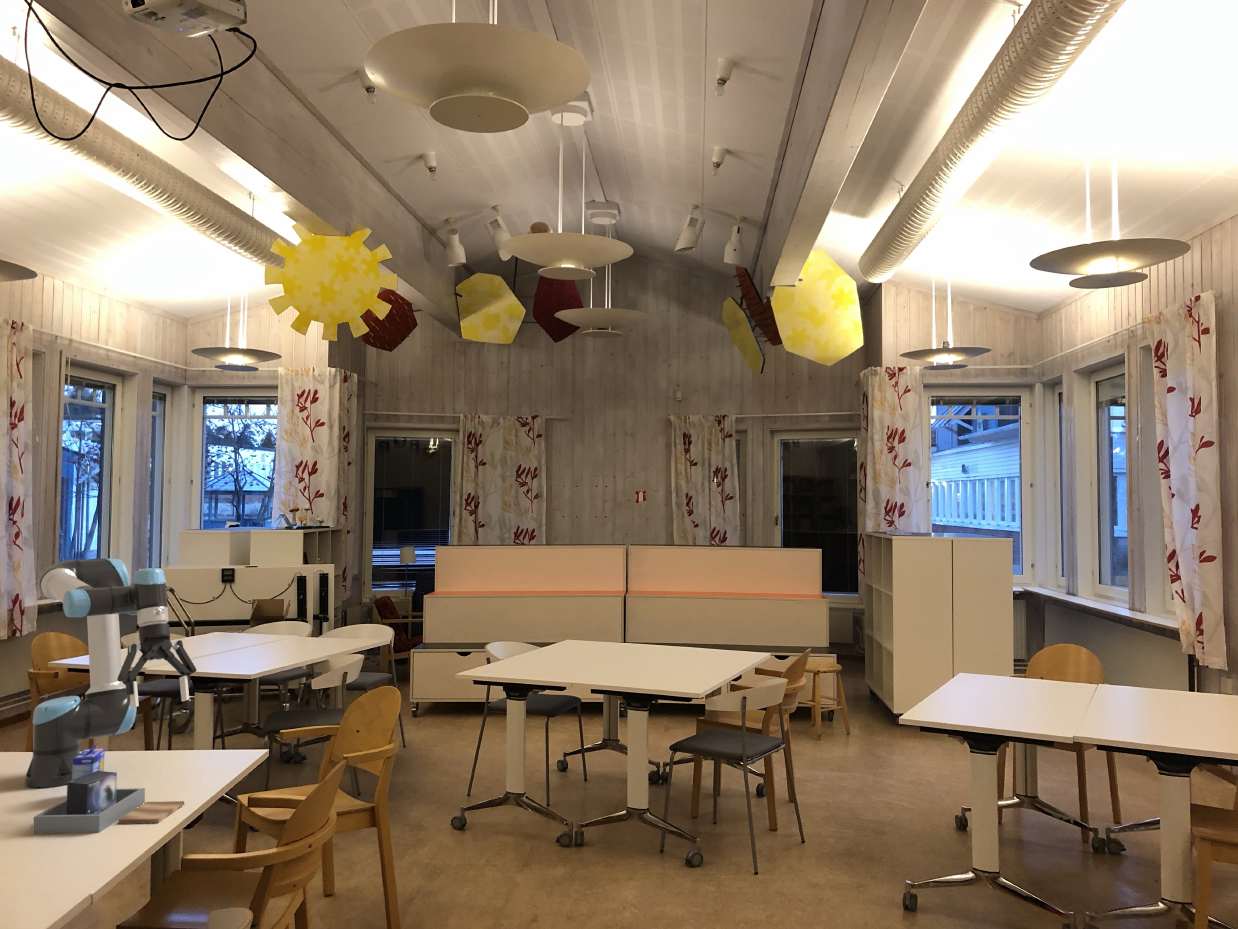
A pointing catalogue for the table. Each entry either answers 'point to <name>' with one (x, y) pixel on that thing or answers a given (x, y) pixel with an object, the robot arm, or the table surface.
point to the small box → (91, 793)
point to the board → (151, 812)
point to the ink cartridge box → (88, 762)
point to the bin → (62, 823)
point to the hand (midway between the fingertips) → (160, 704)
